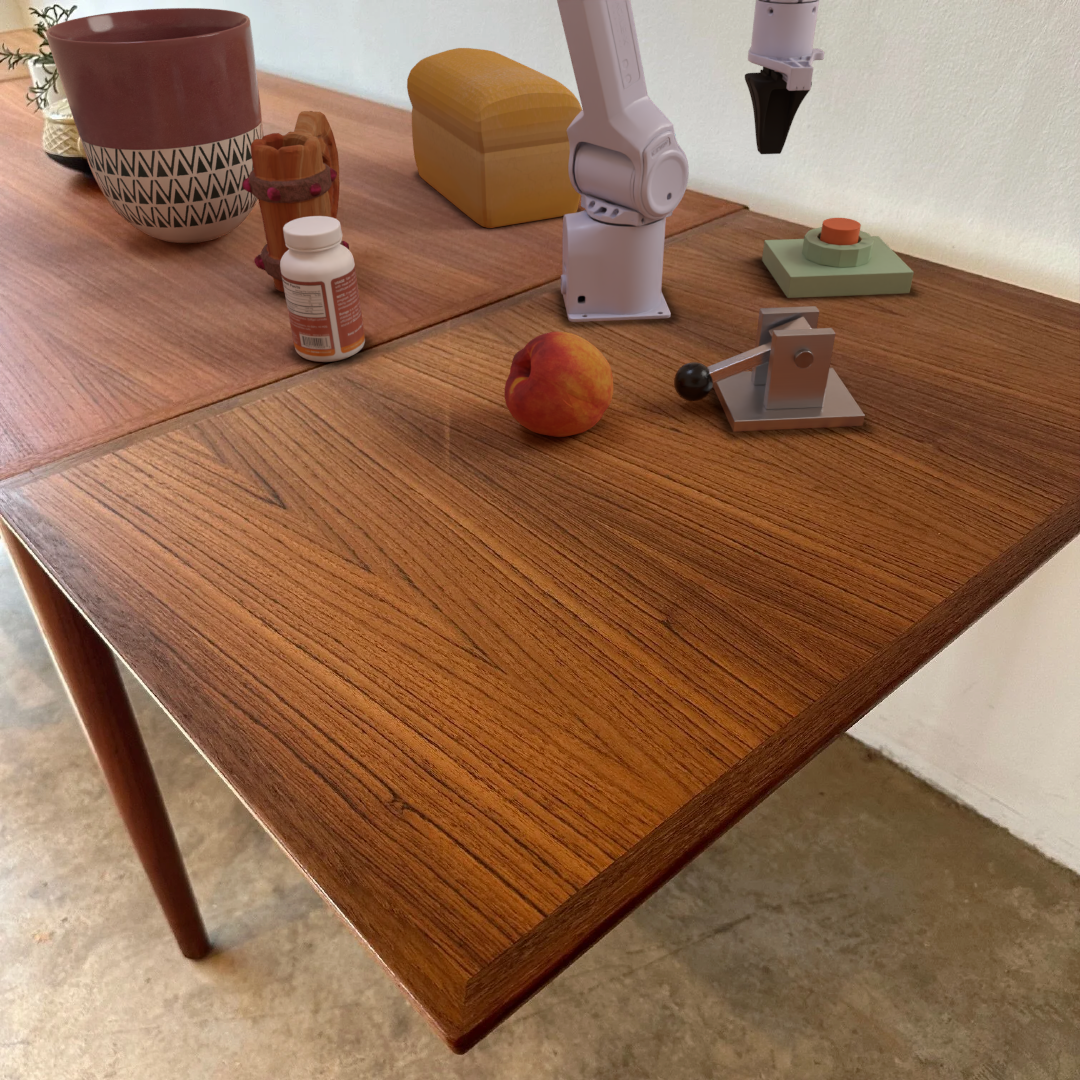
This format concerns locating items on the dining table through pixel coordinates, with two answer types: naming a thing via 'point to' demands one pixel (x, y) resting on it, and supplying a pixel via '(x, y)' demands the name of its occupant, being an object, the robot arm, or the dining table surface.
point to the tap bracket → (789, 380)
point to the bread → (493, 136)
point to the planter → (165, 114)
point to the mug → (293, 183)
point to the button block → (835, 267)
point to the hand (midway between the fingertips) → (769, 152)
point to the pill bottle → (321, 290)
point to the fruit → (559, 385)
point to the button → (840, 231)
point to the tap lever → (725, 367)
